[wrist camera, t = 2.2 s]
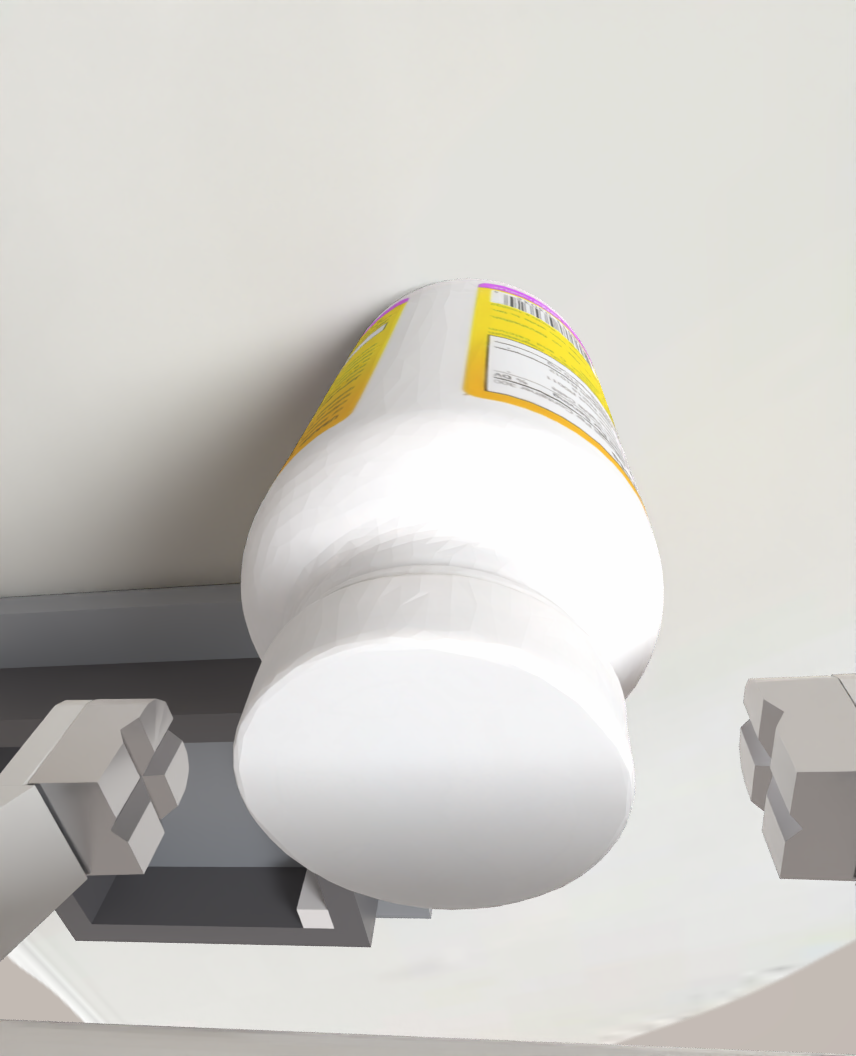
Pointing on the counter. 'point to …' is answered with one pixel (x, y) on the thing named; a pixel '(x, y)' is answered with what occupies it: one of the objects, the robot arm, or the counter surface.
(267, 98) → the counter surface
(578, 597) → the supplement bottle
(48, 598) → the pocket plate
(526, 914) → the counter surface
